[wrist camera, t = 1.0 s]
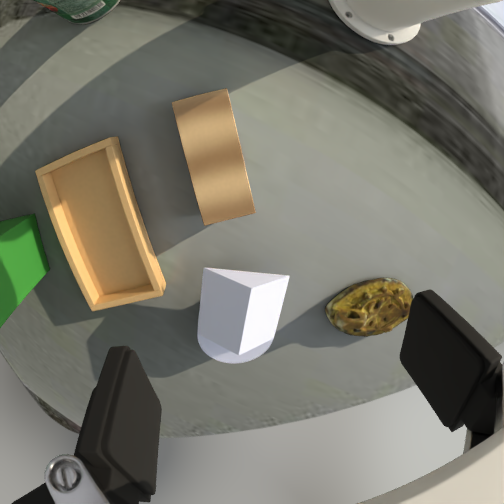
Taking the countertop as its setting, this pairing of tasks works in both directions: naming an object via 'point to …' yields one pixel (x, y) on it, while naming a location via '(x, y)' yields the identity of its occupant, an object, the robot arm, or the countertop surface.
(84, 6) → the canned tomato
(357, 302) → the yellow-brown textured oval
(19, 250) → the hardback book
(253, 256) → the countertop surface
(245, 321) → the wedge on round base
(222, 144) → the eraser
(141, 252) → the holder
